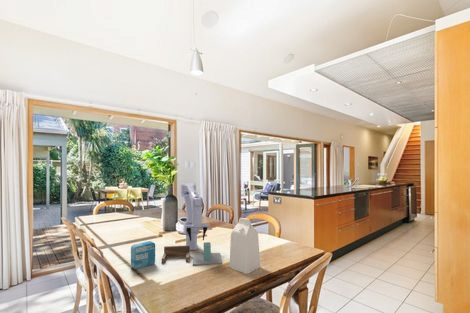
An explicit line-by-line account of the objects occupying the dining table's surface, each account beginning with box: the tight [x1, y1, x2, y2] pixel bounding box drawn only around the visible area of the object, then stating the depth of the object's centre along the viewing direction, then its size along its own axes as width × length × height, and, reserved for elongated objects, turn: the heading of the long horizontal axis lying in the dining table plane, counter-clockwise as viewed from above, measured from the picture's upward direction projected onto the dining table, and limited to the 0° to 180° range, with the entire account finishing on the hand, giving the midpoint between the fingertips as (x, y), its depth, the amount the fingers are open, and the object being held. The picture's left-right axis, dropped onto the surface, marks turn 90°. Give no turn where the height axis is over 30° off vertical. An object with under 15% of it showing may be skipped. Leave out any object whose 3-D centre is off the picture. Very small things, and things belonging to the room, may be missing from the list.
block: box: [203, 241, 212, 260], centre depth 145 cm, size 6×4×8 cm, turn 8°
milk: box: [229, 217, 261, 275], centre depth 133 cm, size 12×12×26 cm
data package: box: [130, 240, 156, 270], centre depth 136 cm, size 12×4×12 cm, turn 134°
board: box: [192, 252, 222, 267], centre depth 144 cm, size 16×16×1 cm
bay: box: [161, 244, 191, 264], centre depth 145 cm, size 10×15×6 cm
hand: (197, 240), depth 151 cm, fingers open, 7 cm apart
